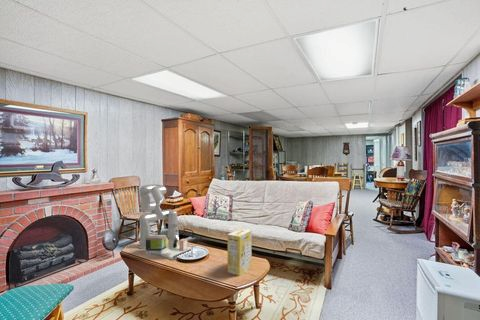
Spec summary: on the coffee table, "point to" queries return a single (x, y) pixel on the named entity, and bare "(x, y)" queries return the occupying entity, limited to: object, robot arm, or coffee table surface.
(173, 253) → the shelf
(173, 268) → the coffee table surface
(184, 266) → the coffee table surface
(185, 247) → the terracotta carton
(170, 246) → the sage carton
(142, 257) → the coffee table surface
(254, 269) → the coffee table surface
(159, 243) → the tea box
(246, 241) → the pasta box
